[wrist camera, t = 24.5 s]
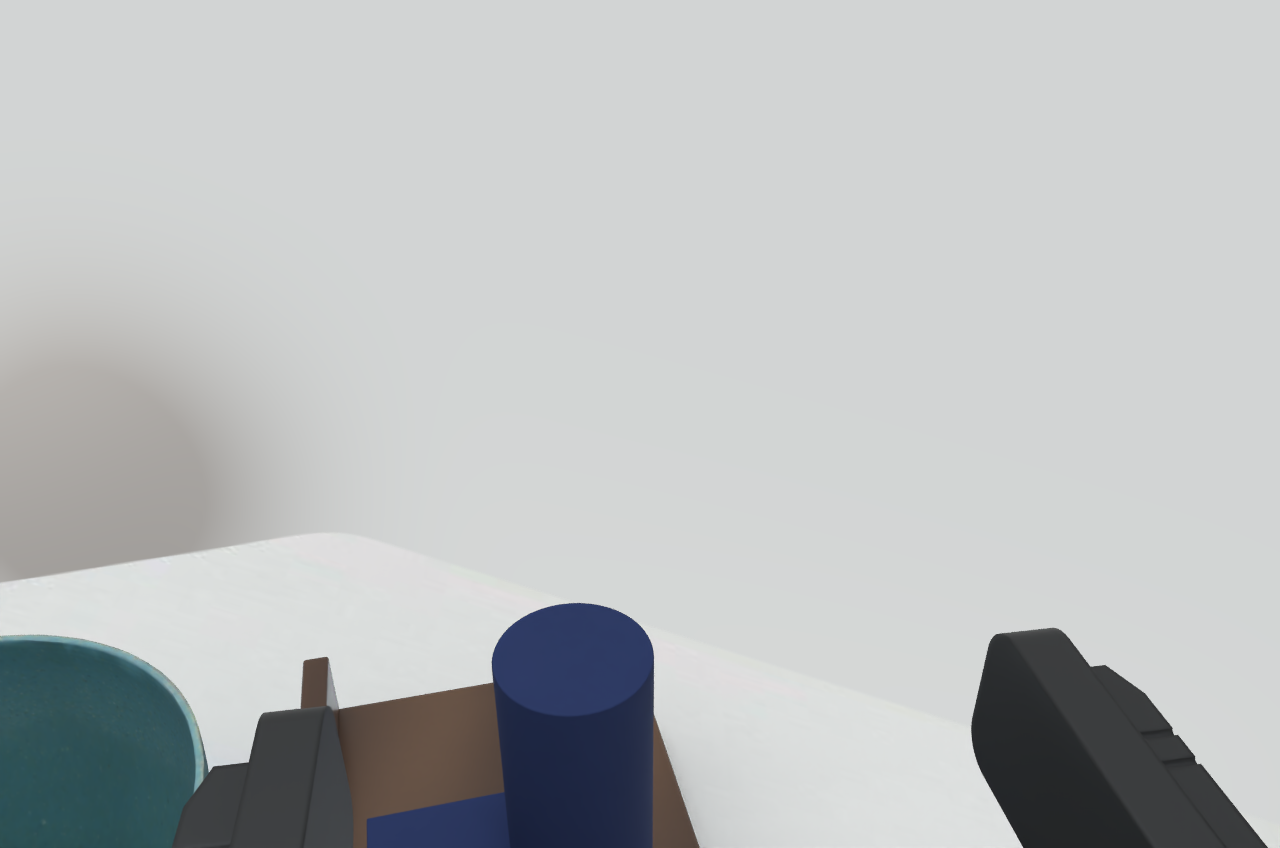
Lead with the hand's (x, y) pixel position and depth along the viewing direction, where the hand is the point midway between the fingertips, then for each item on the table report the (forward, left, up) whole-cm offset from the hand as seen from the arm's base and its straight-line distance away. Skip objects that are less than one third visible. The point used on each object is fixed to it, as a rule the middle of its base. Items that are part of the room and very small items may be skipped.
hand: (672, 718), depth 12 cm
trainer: (+1, -14, -23) cm, 27 cm away
